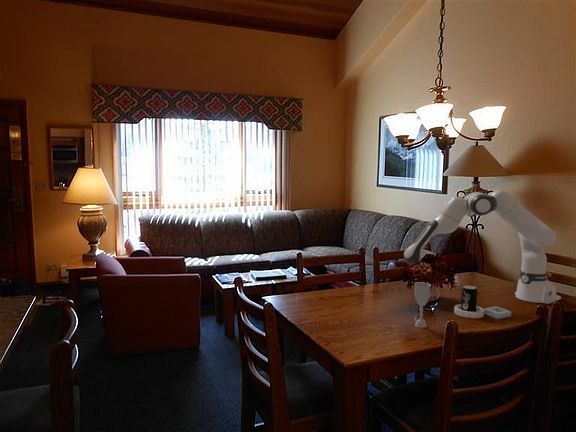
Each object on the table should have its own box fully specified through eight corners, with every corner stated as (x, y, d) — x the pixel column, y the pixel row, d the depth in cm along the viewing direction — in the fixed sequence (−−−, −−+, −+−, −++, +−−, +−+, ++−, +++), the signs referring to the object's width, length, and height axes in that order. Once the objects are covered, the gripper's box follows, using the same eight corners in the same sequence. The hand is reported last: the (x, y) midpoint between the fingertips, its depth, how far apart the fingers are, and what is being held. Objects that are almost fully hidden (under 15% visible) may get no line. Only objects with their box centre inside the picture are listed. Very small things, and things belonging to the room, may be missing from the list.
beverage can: (477, 315, 200) (478, 289, 199) (462, 314, 202) (463, 288, 200) (474, 310, 207) (475, 285, 206) (459, 309, 208) (460, 284, 207)
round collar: (468, 307, 212) (468, 302, 212) (489, 315, 201) (490, 310, 201) (448, 311, 207) (448, 306, 207) (469, 319, 196) (469, 314, 196)
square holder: (496, 311, 207) (496, 306, 207) (510, 316, 200) (511, 311, 200) (483, 313, 204) (483, 308, 204) (498, 319, 197) (498, 313, 197)
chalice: (408, 324, 189) (410, 283, 187) (418, 321, 194) (420, 281, 192) (423, 329, 184) (425, 287, 182) (433, 326, 188) (434, 284, 186)
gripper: (415, 274, 223) (434, 281, 210) (446, 270, 231) (466, 276, 219) (414, 287, 223) (434, 294, 211) (445, 282, 232) (466, 288, 219)
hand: (451, 285), depth 215 cm, fingers open, 8 cm apart
